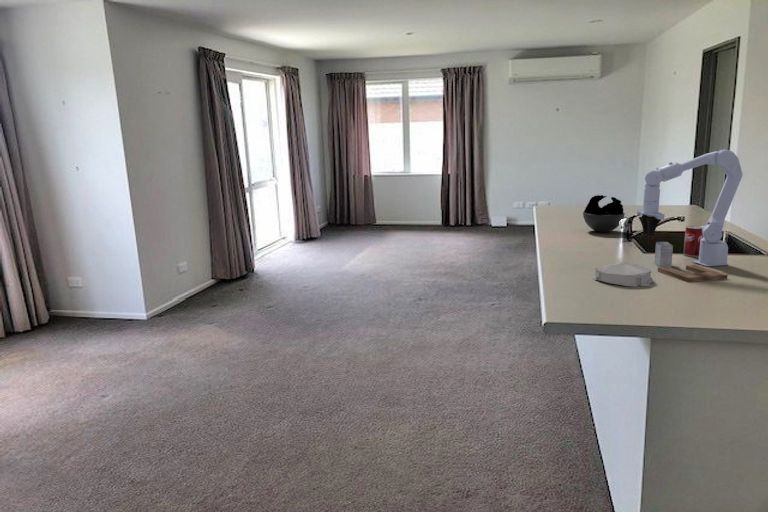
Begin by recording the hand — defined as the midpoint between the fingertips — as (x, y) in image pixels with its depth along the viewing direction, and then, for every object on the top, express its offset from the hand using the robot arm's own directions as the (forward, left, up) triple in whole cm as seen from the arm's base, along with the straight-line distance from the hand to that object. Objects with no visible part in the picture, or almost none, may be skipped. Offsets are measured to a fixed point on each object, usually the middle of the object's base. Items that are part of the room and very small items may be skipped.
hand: (648, 234), depth 234 cm
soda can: (-23, -2, -11) cm, 25 cm away
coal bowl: (-18, -62, -11) cm, 65 cm away
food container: (+27, +25, -11) cm, 38 cm away
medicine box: (0, +10, -11) cm, 15 cm away
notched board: (0, +26, -10) cm, 28 cm away
